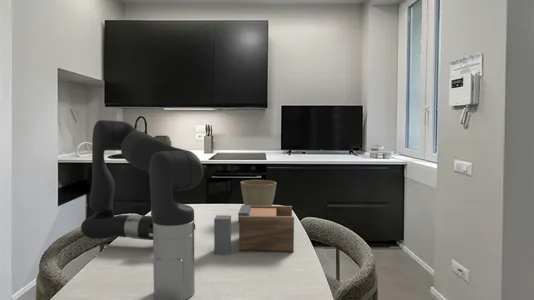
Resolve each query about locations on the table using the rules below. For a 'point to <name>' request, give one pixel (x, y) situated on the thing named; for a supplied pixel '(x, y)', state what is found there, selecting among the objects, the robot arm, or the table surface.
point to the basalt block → (222, 235)
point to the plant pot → (258, 192)
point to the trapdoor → (256, 211)
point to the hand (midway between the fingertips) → (189, 230)
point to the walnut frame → (267, 231)
